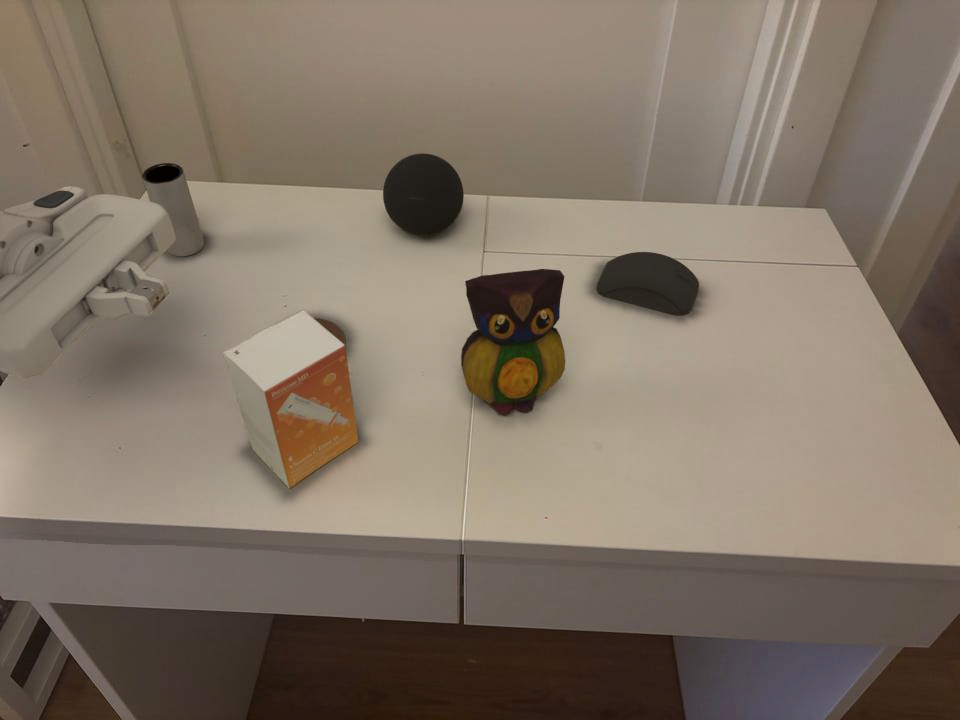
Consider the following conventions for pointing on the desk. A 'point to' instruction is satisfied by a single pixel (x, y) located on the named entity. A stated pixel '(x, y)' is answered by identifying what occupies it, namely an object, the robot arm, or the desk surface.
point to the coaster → (332, 329)
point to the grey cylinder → (175, 206)
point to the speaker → (423, 194)
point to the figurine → (514, 338)
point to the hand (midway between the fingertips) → (157, 298)
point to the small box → (294, 396)
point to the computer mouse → (650, 282)
